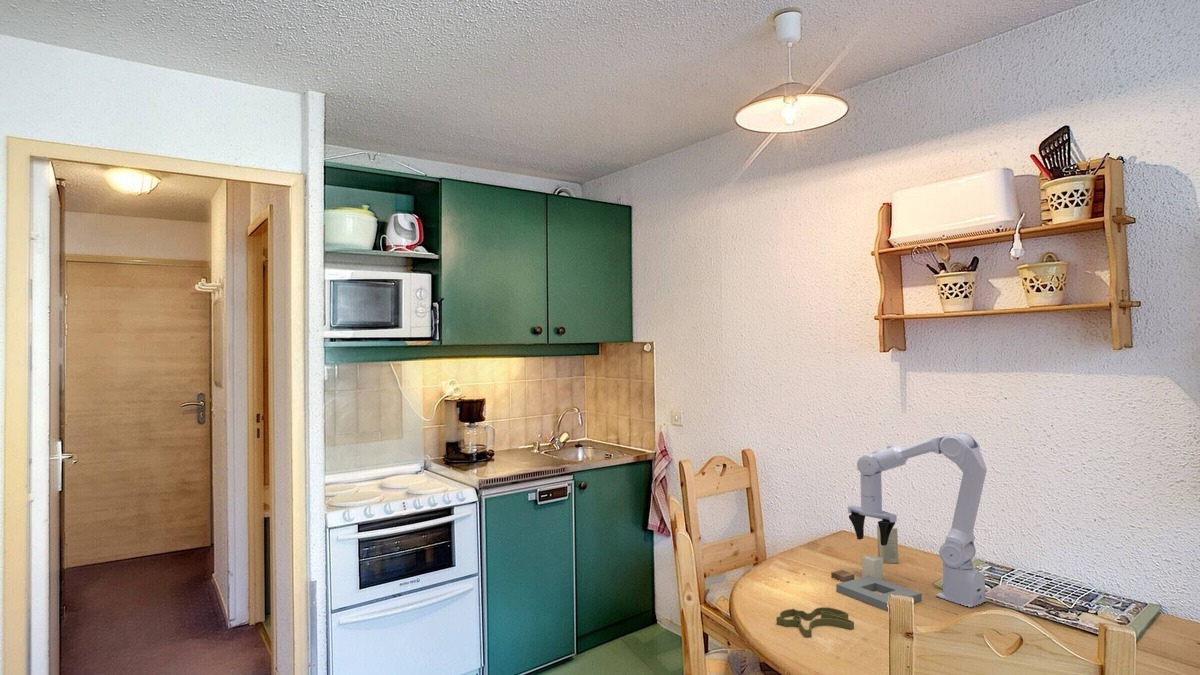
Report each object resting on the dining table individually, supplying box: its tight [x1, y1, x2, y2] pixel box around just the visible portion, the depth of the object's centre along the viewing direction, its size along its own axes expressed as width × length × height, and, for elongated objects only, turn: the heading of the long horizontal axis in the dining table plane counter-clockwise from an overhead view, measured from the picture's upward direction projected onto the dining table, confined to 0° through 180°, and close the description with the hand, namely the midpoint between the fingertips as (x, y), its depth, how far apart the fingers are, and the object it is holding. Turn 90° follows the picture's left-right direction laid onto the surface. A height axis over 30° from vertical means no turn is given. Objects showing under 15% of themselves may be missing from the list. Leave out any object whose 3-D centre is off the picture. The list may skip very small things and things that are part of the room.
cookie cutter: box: [776, 606, 855, 638], centre depth 156 cm, size 18×12×2 cm, turn 110°
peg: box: [861, 554, 884, 580], centre depth 188 cm, size 4×4×6 cm
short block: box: [830, 569, 855, 583], centre depth 187 cm, size 4×4×2 cm
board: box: [835, 576, 922, 612], centre depth 174 cm, size 16×14×2 cm
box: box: [876, 524, 899, 564], centre depth 204 cm, size 5×4×11 cm
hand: (872, 541), depth 189 cm, fingers open, 7 cm apart
